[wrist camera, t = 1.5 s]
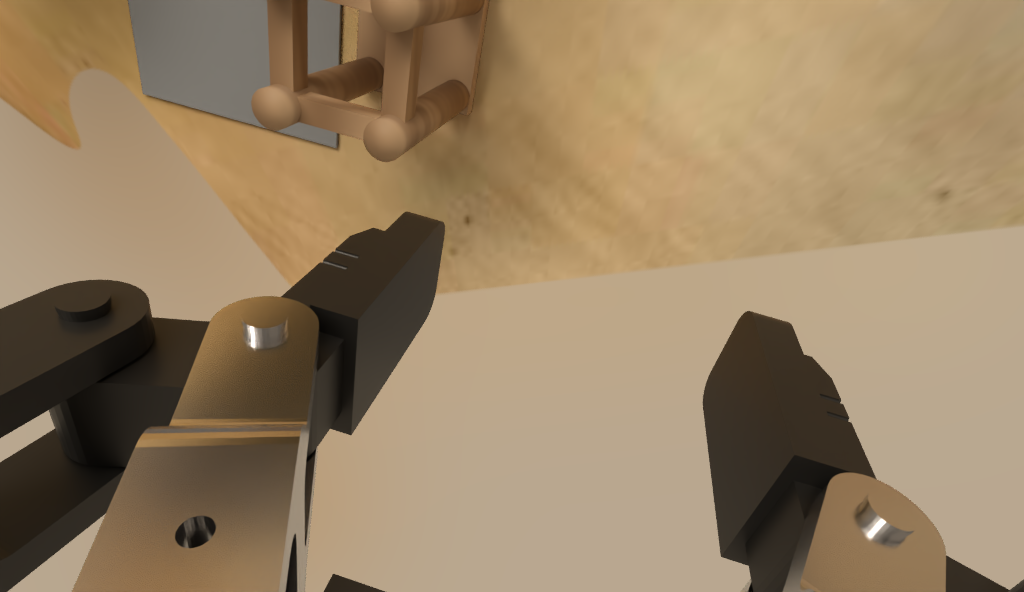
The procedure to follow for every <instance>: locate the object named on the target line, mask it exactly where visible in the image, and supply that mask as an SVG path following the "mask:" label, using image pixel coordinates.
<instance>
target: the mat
mask: <svg viewBox="0 0 1024 592" xmlns="http://www.w3.org/2000/svg"><path fill="white" fill-rule="evenodd" d="M128 4H129V10H130V16H131V23H132V29H133V35H134V41H135V47H136V54H137V60H138V66H139V72H140V78H141V85H142V91H143V94H145V95H149V96H152V97H156V98H160V99H163V100H167V101H170V102H174V103H177V104H181V105H184V106H188V107H192V108H195V109H199V110H202V111H206V112H209V113H213V114H216V115H220V116H223V117H227V118H231V119H234V120H238V121H241V122H245V123H248V124H252V125H255V126H259V127H263V128H265V127H264V126H263V125H261V124H260V123H259V121H258V120H257V119H256V117H255V116H254V113H253V111H252V106H251V100H252V96H253V94H254V93H255V92H256V91H257V90H258V89H260V88H264V87H267V86H270V66H269V40H268V14H267V0H128ZM341 12H342V5H340V4H336V3H332V2H329V1H325V0H308V74H311V73H314V72H317V71H321V70H324V69H328V68H331V67H334V66H338V65H340V48H341ZM266 129H267V128H266ZM277 132H280V133H284V134H287V135H291V136H295V137H298V138H302V139H305V140H309V141H312V142H316V143H319V144H323V145H327V146H330V147H334V148H337V147H338V133H336V132H332V131H329V130H325V129H322V128H318V127H314V126H311V125H307V124H304V123H300V122H298V123H296V124H294V125H291V126H289V127H287V128H284V129H282V130H279V131H277Z"/></svg>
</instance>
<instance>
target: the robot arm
mask: <svg viewBox="0 0 1024 592" xmlns="http://www.w3.org/2000/svg"><path fill="white" fill-rule="evenodd" d="M444 234H445V225H444V223H443V222H441V221H438V220H434V219H431V218H428V217H424V216H421V215H417V214H414V213H410V212H405V213H403V214H402V215H401V216H400V217H399V218H398V219H397V220H396V221H395V222H394V223H393V224H392V225H391V226H390V227H389V228H388V229H387V230H386V231H382V230H379V229H375V228H372V229H369V230H366V231H363V232H360V233H358V234H355V235H352V236H350V237H349V238H348V239H346V240H345V241H344V242H343V243H342V244H341V245H340V246H338V247H337V248H336V250H335V252H332V253H331V254H329V255H328V256H327V257H326V258H325V259H324V260H323V263H321V262H320V263H319V264H318V265H317V266H316V267H315V268H313V269H312V270H311V271H310V272H309V273H308V274H307V275H305V276H304V277H303V278H302V279H301V280H300V281H299V282H297V283H296V284H295V285H294V286H293V287H292V288H291V289H290V290H288V291H287V292H286V293H285V294H284V295H283V296H281V297H274V296H263V297H254V298H248V299H244V300H240V301H237V302H235V303H232V304H230V305H228V306H226V307H224V308H223V309H221V310H220V311H219V312H217V313H216V314H215V316H214V317H213V318H212V319H211V321H210V322H207V321H206V322H205V321H192V320H178V319H166V318H153V317H152V315H151V309H150V304H149V299H148V297H147V295H146V294H145V293H144V292H143V291H142V290H141V289H139V288H137V287H136V286H133V285H131V284H128V283H124V282H120V281H112V280H86V281H78V282H73V283H67V284H64V285H60V286H56V287H54V288H51V289H48V290H45V291H43V292H40V293H38V294H36V295H33V296H31V297H28V298H26V299H23V300H21V301H18V302H16V303H14V304H11V305H9V306H6V307H4V308H2V309H0V438H1V437H3V436H4V435H6V434H8V433H10V432H12V431H13V430H15V429H17V428H18V427H20V426H22V425H24V424H25V423H27V422H29V421H30V420H32V419H34V418H36V417H37V416H39V415H41V414H42V413H44V412H46V411H47V410H49V412H50V415H51V418H52V421H53V423H54V426H55V429H54V430H52V431H51V432H49V433H47V434H46V435H44V436H42V437H41V438H39V439H38V440H36V441H34V442H33V443H31V444H29V445H28V446H26V447H25V448H23V449H21V450H20V451H18V452H17V453H15V454H13V455H12V456H10V457H8V458H7V459H5V460H3V461H2V462H0V592H7V591H8V590H10V589H11V588H12V587H13V586H15V585H16V584H17V583H18V582H20V581H21V580H22V579H24V578H25V577H26V576H27V575H29V574H30V573H31V572H32V571H34V570H35V569H36V568H37V567H39V566H40V565H41V564H42V563H44V562H45V561H46V560H47V559H49V558H50V557H51V556H52V555H54V554H55V553H56V552H58V551H59V550H60V549H61V548H63V547H64V546H65V545H66V544H68V543H69V542H70V541H71V540H73V539H74V538H75V537H76V536H77V535H79V534H80V533H81V532H83V531H84V530H85V529H86V528H88V527H89V526H90V525H91V524H93V523H94V522H95V521H97V520H98V519H99V518H100V517H102V516H103V515H104V514H105V513H106V515H105V517H104V519H103V521H102V524H101V526H100V528H99V531H98V533H97V535H96V537H95V540H94V542H93V544H92V547H91V549H90V551H89V553H88V556H87V558H86V560H85V563H84V565H83V567H82V570H81V572H80V574H79V576H78V579H77V581H76V583H75V585H74V588H73V590H72V592H305V581H306V566H307V554H308V544H309V534H310V524H311V514H312V504H313V493H314V484H315V474H316V463H317V446H318V445H319V444H320V442H321V441H322V439H323V438H324V436H325V435H326V434H327V432H328V431H329V429H333V430H336V431H340V432H343V433H346V434H349V435H352V433H353V432H354V430H355V429H356V427H357V426H358V424H359V422H360V421H361V419H362V418H363V416H364V415H365V413H366V412H367V410H368V408H369V407H370V405H371V404H372V402H373V401H374V399H375V398H376V396H377V395H378V393H379V392H380V390H381V388H382V387H383V385H384V384H385V382H386V381H387V379H388V378H389V376H390V375H391V373H392V372H393V370H394V368H395V367H396V365H397V364H398V362H399V361H400V359H401V358H402V356H403V355H404V353H405V351H406V350H407V348H408V347H409V345H410V344H411V342H412V341H413V339H414V338H415V336H416V334H417V333H418V331H419V330H420V328H421V327H422V325H423V324H424V322H425V320H426V319H427V317H428V315H429V312H430V310H431V307H432V304H433V300H434V297H435V293H436V287H437V280H438V274H439V267H440V261H441V254H442V248H443V241H444ZM840 402H841V398H840V396H839V394H838V392H837V390H836V387H835V385H834V383H833V380H832V378H831V377H830V376H829V375H828V374H827V373H826V372H825V371H824V370H823V369H822V368H821V366H820V365H819V364H818V363H817V362H816V361H815V360H814V359H813V358H812V357H810V356H807V355H804V354H803V351H802V349H801V346H800V344H799V342H798V339H797V336H796V334H795V331H794V329H793V326H792V325H791V324H790V323H789V322H785V321H782V320H778V319H775V318H772V317H768V316H764V315H761V314H758V313H754V312H750V311H747V312H745V313H744V314H743V315H742V316H741V317H740V319H739V320H738V322H737V324H736V326H735V328H734V330H733V331H732V333H731V335H730V337H729V339H728V341H727V343H726V344H725V346H724V348H723V350H722V352H721V354H720V356H719V358H718V359H717V361H716V363H715V365H714V367H713V369H712V371H711V373H710V375H709V377H708V380H707V383H706V386H705V390H704V395H703V410H704V418H705V427H706V436H707V443H708V452H709V461H710V469H711V477H712V485H713V494H714V502H715V511H716V519H717V527H718V536H719V544H720V553H721V557H724V558H727V559H730V560H733V561H736V562H739V563H742V564H745V565H748V566H749V569H750V575H751V579H750V581H749V582H748V583H747V584H746V586H745V587H744V588H743V589H742V590H741V592H1024V580H1022V581H1021V582H1020V583H1019V584H1017V585H1016V586H1015V587H1013V588H1012V589H1011V590H1008V589H1006V588H1005V587H1002V586H1000V585H999V584H997V583H995V582H994V581H992V580H990V579H988V578H986V577H984V576H983V575H981V574H979V573H977V572H975V571H973V570H971V569H970V568H968V567H966V566H964V565H962V564H961V563H959V562H957V561H955V560H953V559H951V558H950V557H948V556H946V551H945V545H944V542H943V540H942V538H941V536H940V534H939V532H938V530H937V529H936V527H935V526H934V524H933V523H932V522H931V521H930V519H929V518H928V517H927V516H926V515H925V514H924V513H923V511H922V510H920V509H919V508H918V506H916V505H915V504H914V503H913V502H911V500H909V499H908V498H907V497H905V496H904V495H903V494H901V493H900V492H899V491H897V490H895V489H894V488H892V487H891V486H889V485H887V484H885V483H883V482H881V481H879V480H877V479H876V477H875V475H874V473H873V470H872V468H871V466H870V464H869V461H868V459H867V457H866V455H865V452H864V450H863V448H862V446H861V443H860V441H859V439H858V437H857V435H856V432H855V430H854V428H853V425H852V423H850V422H848V419H849V416H848V414H847V412H846V410H845V407H844V405H843V404H840ZM324 592H385V591H382V590H379V589H376V588H373V587H370V586H367V585H365V584H362V583H359V582H356V581H353V580H350V579H347V578H344V577H341V576H339V575H335V574H333V575H332V577H331V579H330V581H329V583H328V585H327V587H326V588H325V590H324Z"/></svg>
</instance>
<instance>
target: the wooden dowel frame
mask: <svg viewBox="0 0 1024 592" xmlns="http://www.w3.org/2000/svg"><path fill="white" fill-rule="evenodd" d="M325 1H329V2H332V3H336V4H340V5H344V6H348V7H352V8H356V9H359V18H358V41H357V60H354V61H351V62H348V63H344V64H341V65H338V66H334V67H331V68H328V69H324V70H321V71H317V72H314V73H311V74H308V0H267V14H268V40H269V66H270V86H267V87H264V88H260V89H258V90H257V91H256V92H255V93H254V94H253V96H252V100H251V106H252V111H253V113H254V116H255V117H256V119H257V120H258V121H259V123H260V124H261V125H263V126H264V127H265V128H267V129H270V130H273V131H279V130H282V129H284V128H287V127H289V126H291V125H294V124H296V123H298V122H300V123H304V124H307V125H311V126H314V127H318V128H322V129H325V130H329V131H332V132H336V133H339V134H343V135H347V136H350V137H354V138H357V139H361V140H364V144H365V147H366V149H367V150H368V152H369V153H370V154H371V155H372V156H373V157H374V158H376V159H377V160H380V161H383V162H390V161H393V160H395V159H397V158H398V157H399V156H401V155H402V154H404V153H405V152H406V151H408V150H409V149H410V148H412V147H413V146H415V145H416V144H417V143H419V142H420V141H421V140H423V139H424V138H425V137H427V136H428V135H430V134H431V133H432V132H434V131H435V130H436V129H438V128H439V127H441V126H442V125H443V124H445V123H446V122H447V121H449V120H450V119H452V118H453V117H454V116H456V115H457V114H458V113H459V114H463V115H468V114H470V113H471V112H472V106H473V100H474V94H475V87H476V81H477V75H478V68H479V62H480V56H481V50H482V43H483V37H484V31H485V24H486V18H487V12H488V5H489V0H325ZM373 90H374V91H378V92H382V107H381V111H379V110H375V109H372V108H368V107H364V106H361V105H357V104H353V103H350V102H348V101H350V100H352V99H355V98H357V97H359V96H362V95H364V94H366V93H369V92H371V91H373Z"/></svg>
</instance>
